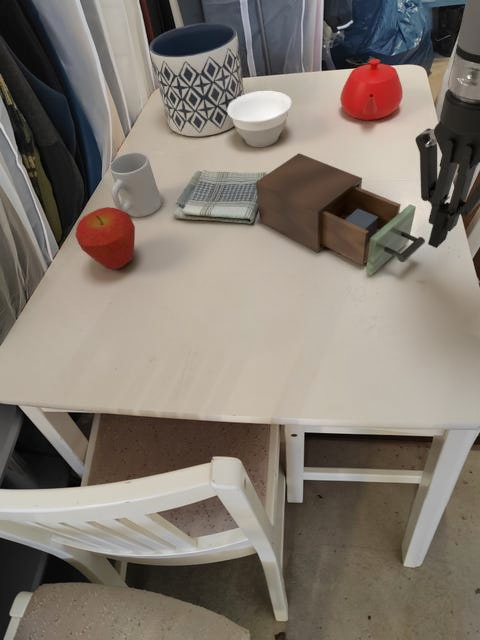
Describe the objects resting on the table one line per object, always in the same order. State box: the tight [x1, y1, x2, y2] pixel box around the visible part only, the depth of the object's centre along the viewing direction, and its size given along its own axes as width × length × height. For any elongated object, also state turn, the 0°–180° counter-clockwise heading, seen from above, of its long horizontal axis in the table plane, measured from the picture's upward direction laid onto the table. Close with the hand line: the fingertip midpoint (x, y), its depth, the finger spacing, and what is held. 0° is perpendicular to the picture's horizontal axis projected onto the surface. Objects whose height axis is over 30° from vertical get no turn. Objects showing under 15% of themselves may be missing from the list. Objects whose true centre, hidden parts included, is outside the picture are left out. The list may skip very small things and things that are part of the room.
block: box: [345, 209, 378, 244], centre depth 81 cm, size 4×4×4 cm
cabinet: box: [256, 153, 363, 253], centre depth 87 cm, size 16×13×10 cm
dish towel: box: [173, 169, 268, 225], centre depth 99 cm, size 19×18×3 cm
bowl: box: [227, 90, 293, 148], centre depth 112 cm, size 16×16×9 cm
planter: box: [148, 22, 245, 137], centre depth 118 cm, size 22×22×20 cm
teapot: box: [340, 58, 404, 121], centre depth 112 cm, size 25×16×12 cm, turn 167°
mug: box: [109, 152, 163, 218], centre depth 97 cm, size 12×8×11 cm
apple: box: [75, 206, 136, 270], centre depth 86 cm, size 11×11×12 cm
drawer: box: [320, 186, 426, 276], centre depth 80 cm, size 19×11×8 cm, turn 44°
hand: (436, 241), depth 71 cm, fingers closed
